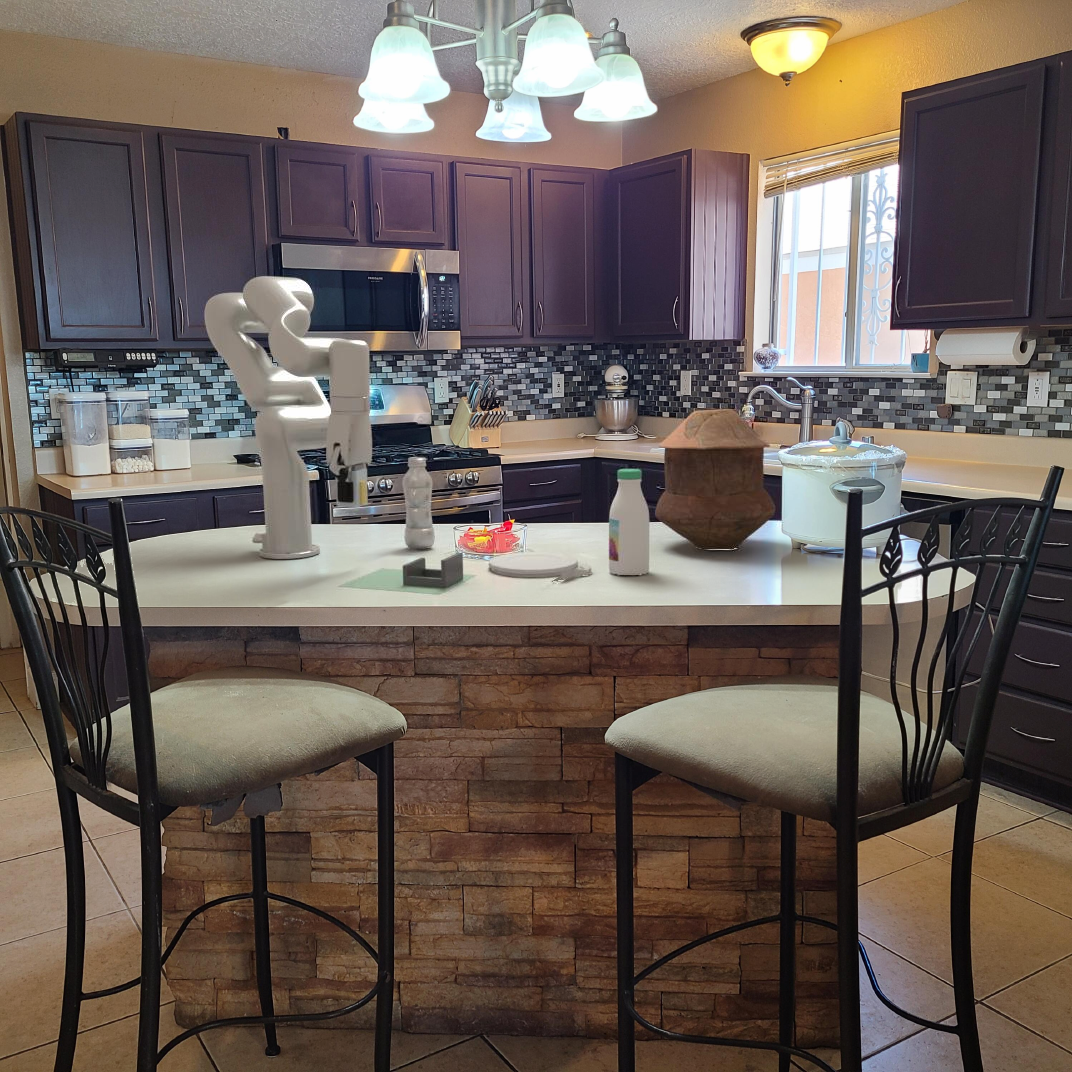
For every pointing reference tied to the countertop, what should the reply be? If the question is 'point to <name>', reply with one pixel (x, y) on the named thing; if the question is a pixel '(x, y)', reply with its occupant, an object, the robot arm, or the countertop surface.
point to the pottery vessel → (714, 480)
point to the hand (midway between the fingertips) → (351, 499)
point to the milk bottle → (629, 526)
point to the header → (434, 573)
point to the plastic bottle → (418, 505)
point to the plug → (357, 487)
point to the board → (395, 582)
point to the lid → (539, 565)
